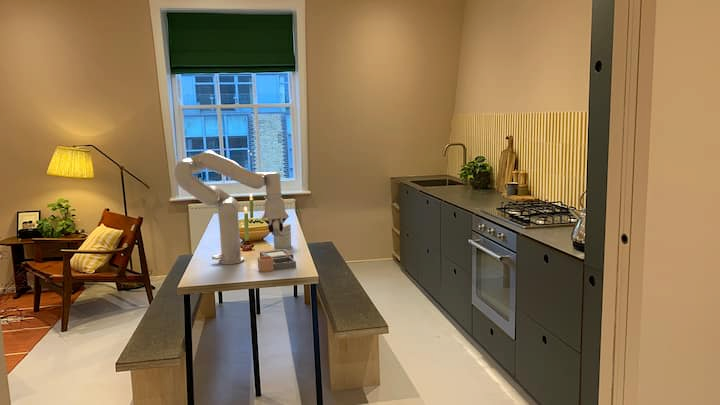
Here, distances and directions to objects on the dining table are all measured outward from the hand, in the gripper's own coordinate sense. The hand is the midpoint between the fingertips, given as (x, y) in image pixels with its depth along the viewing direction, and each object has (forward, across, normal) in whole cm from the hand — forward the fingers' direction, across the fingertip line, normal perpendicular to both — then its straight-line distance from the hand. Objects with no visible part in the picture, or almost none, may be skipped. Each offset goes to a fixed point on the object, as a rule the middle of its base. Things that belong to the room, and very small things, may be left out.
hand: (276, 231), depth 277 cm
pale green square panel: (+13, 0, 0) cm, 13 cm away
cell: (+1, 0, 0) cm, 1 cm away
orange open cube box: (+14, -10, -18) cm, 25 cm away
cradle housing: (+14, 0, 0) cm, 14 cm away
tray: (+15, -2, -15) cm, 21 cm away
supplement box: (+15, +9, +24) cm, 30 cm away
